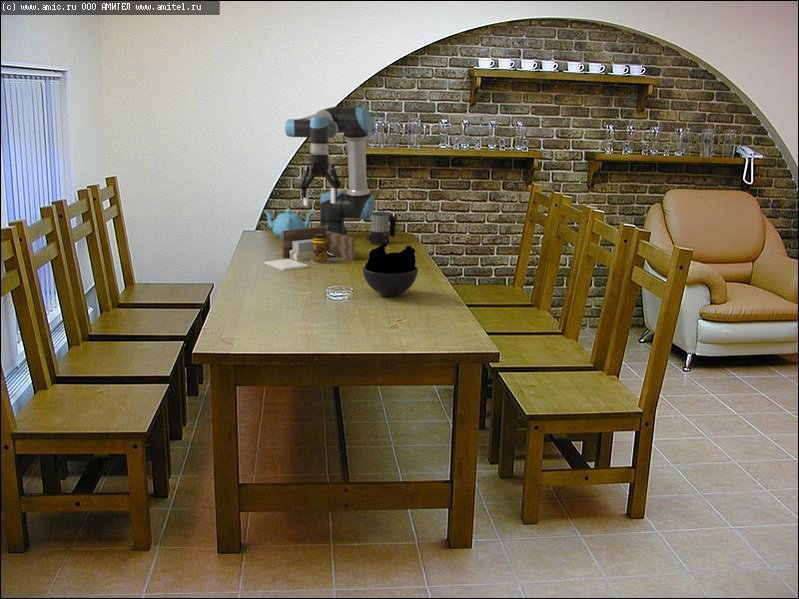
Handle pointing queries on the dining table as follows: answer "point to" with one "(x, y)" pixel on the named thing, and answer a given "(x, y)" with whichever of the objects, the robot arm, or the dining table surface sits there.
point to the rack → (335, 242)
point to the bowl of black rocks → (390, 270)
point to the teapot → (287, 222)
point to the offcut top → (302, 245)
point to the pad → (286, 264)
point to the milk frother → (381, 228)
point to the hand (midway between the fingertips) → (319, 204)
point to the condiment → (319, 249)
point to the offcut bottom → (301, 255)
